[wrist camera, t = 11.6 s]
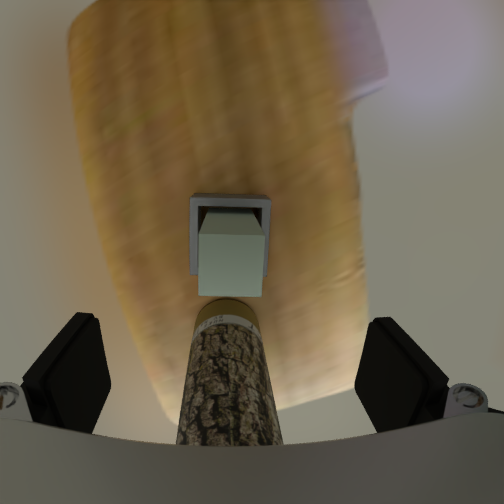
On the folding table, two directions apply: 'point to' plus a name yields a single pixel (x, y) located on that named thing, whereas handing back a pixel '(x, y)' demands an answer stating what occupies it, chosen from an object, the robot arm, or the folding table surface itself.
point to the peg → (230, 253)
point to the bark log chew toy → (227, 382)
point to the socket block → (229, 201)
